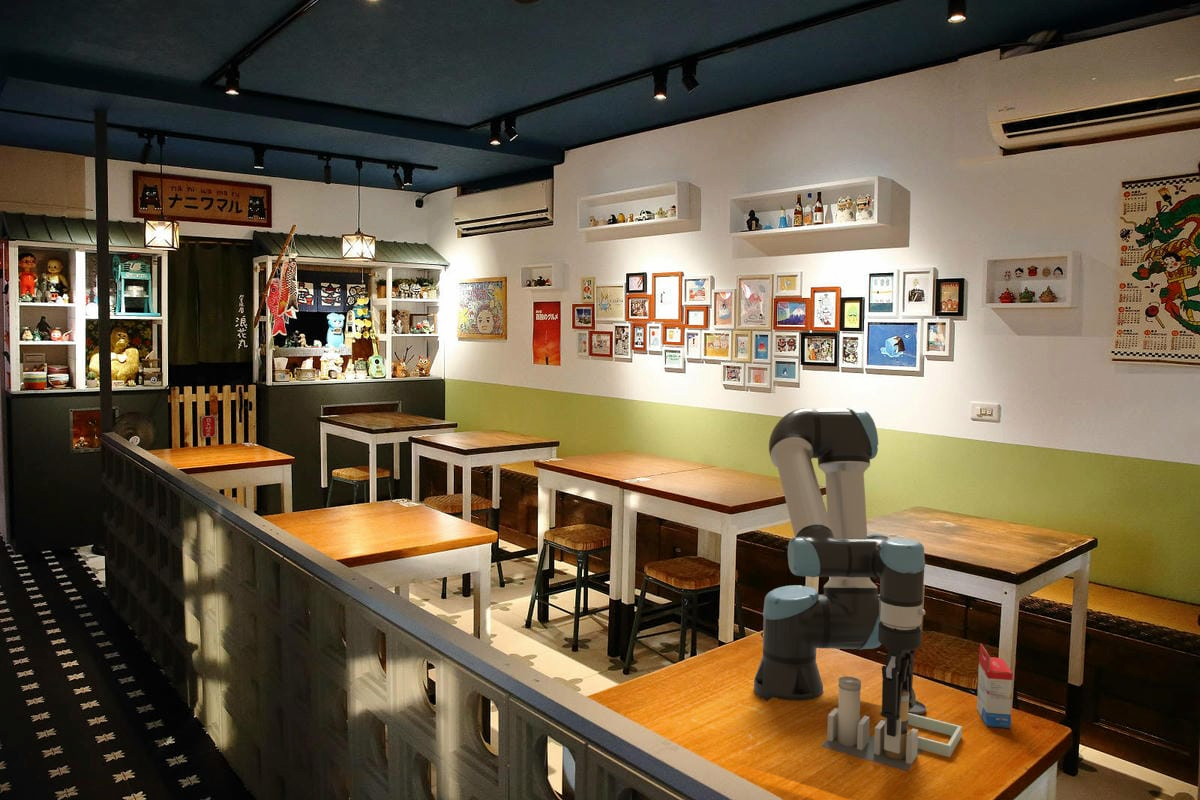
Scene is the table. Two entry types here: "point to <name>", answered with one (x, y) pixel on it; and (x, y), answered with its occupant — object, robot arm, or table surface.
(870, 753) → the fuse board
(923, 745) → the parts tray
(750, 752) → the table surface
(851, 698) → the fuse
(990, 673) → the ink box
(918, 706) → the pocket watch
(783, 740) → the table surface
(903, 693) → the cylinder
